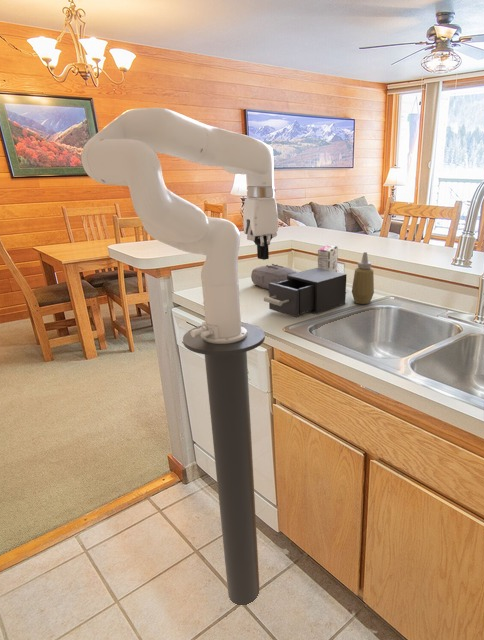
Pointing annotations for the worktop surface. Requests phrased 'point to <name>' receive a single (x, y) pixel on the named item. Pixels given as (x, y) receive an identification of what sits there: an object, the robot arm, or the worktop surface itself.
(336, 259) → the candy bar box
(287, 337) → the worktop surface
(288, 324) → the worktop surface
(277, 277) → the soft grey pack
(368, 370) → the worktop surface
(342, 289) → the grey open box
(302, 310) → the grey drawer with handle
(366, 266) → the squeeze bottle
